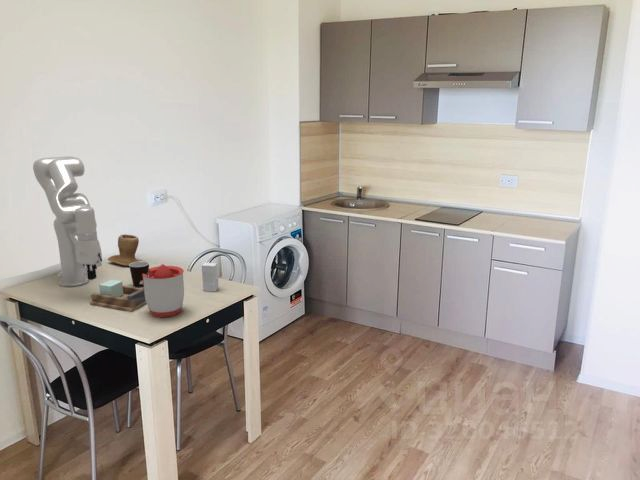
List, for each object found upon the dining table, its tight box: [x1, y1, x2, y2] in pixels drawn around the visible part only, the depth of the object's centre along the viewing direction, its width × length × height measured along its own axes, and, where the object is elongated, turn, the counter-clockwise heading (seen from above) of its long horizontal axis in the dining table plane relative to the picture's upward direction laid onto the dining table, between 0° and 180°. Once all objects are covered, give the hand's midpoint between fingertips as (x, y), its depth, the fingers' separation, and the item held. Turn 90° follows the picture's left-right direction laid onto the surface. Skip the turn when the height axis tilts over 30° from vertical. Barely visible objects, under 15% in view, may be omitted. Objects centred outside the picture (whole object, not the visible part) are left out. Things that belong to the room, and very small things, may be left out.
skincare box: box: [201, 262, 220, 292], centre depth 238 cm, size 6×4×12 cm
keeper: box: [98, 279, 124, 297], centre depth 226 cm, size 6×7×6 cm
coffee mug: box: [129, 260, 150, 288], centre depth 245 cm, size 12×9×10 cm
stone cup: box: [107, 233, 140, 267], centre depth 274 cm, size 15×12×15 cm
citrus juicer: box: [140, 264, 185, 318], centre depth 212 cm, size 16×17×20 cm
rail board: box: [89, 285, 147, 313], centre depth 224 cm, size 21×16×6 cm
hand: (92, 278), depth 227 cm, fingers closed
